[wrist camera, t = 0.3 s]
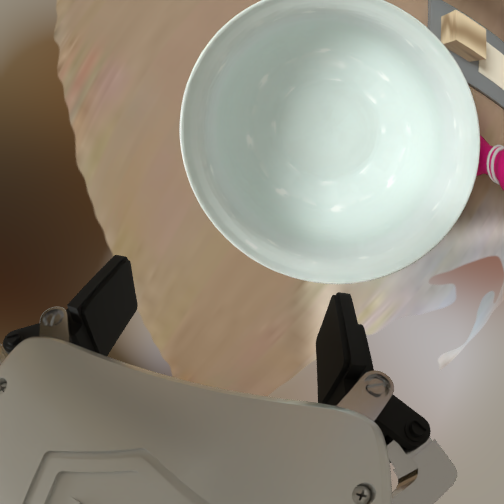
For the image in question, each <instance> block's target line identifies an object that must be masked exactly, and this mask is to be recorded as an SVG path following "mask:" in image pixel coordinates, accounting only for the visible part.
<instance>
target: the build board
mask: <svg viewBox="0 0 504 504" xmlns="http://www.w3.org/2000/svg"><path fill="white" fill-rule="evenodd" d="M454 10H458V9H456V8H454V7H453V6H451V5H449V4H448V3H446V2H444V1H442V0H428V29H429V30H430V31H431V32H432V33H433V34H434V35H435V36H436V37H437V38H438V39H439V40H440V41H441V17H442V16H444V15H446V14H448V13H450V12H452V11H454ZM458 11H459V10H458ZM459 12H461V11H459ZM461 13H462V14H464V13H463V12H461ZM464 15H466V14H464ZM466 16H467V15H466ZM467 17H469V16H467ZM469 18H470V17H469ZM470 19H472V18H470ZM472 20H473V19H472ZM473 21H475V20H473ZM475 22H476V21H475ZM476 23H478V22H476ZM478 24H479V23H478ZM479 25H480V26H482V25H481V24H479ZM482 27H483V26H482ZM483 28H485V27H483ZM485 29H486V28H485ZM448 51H449V52H450V53H451V55H452V56H453V58H454V59H455V61H456V62H457V64H458V65H459V67H460V69H461V71H462V73H463V75H464V77H465V79H466V81H467V83H468V85H470V86H471V87H473V88H474V89H476V90H478V91H479V92H481V93H482V94H484V95H485V96H486V97H488V98H489V99H491V100H492V101H494V102H495V103H496V104H498V105H499V106H500V107H502V108H503V109H504V42H503V41H502V40H500V39H499V38H498V37H497V36H495V35H494V34H493V33H491V32H490V31H489V30H487V29H486V60H478V61H471V62H469V61H467V60H465V59H464V58H462V57H461V56H459V55H457V54H456V53H454V52H452V51H450V50H449V49H448Z"/></svg>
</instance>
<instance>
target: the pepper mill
mask: <svg viewBox="0 0 504 504" xmlns="http://www.w3.org/2000/svg"><path fill="white" fill-rule="evenodd" d="M481 174H487V175H489V177H490V179H491V180H492V181H493V182H495V183H497V184H498V185H500V186H501V187H502V189H503V190H504V146H502V145H495V146H494V147H492V146H490V145H489V144H488V143H487V142H486V141H485V139H484V138H483V137H482V136H481V135H480V156H479V164H478V170H477V175H476V176H478V175H481Z"/></svg>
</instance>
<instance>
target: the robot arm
mask: <svg viewBox="0 0 504 504" xmlns="http://www.w3.org/2000/svg"><path fill="white" fill-rule="evenodd" d="M136 310H137V299H136V294H135V288H134V282H133V276H132V269H131V263H130V261H129V260H128V259H127V257H124V256H119V255H115V256H114V257H113V258H112V259H110V261H108V262H107V264H106V265H105V266H104V267H103V268H102V269H101V270H100V271H99V272H98V273H97V274H96V275H95V276H94V277H93V278H92V279H91V280H90V281H89V282H88V283H87V284H86V285H85V286H84V287H83V288H82V290H81V291H80V292H79V293H78V294H77V295H76V296H75V297H74V298H73V299H72V300H71V302H70V303H69V304H68V309H67V310H65V309H63V308H62V307H53V308H50V309H48V310H46V311H45V312H44V313H43V314H42V316H41V318H40V323H39V324H35V325H31V326H28V327H25V328H21V329H18V330H14V331H12V332H10V333H9V334H8V335H7V336H6V337H5V339H4V341H3V345H1V344H0V504H434V503H435V502H436V501H437V500H438V499H439V498H440V497H441V496H442V495H443V494H444V493H445V492H446V491H447V490H448V489H449V488H450V487H451V486H452V485H453V484H454V482H455V481H456V478H457V470H456V468H455V466H454V465H453V463H452V462H451V460H450V459H449V458H448V456H447V455H446V454H445V452H444V451H443V450H442V448H441V447H440V445H439V444H438V443H437V441H436V440H435V439H434V440H433V441H432V440H431V438H430V437H429V436H430V426H429V424H428V422H427V421H426V420H425V419H424V418H423V417H421V416H420V415H419V414H418V413H416V412H415V411H414V410H412V409H411V408H410V407H408V406H407V405H406V404H405V403H403V402H402V401H401V400H399V399H398V398H397V397H395V396H394V395H393V392H394V385H393V382H392V380H391V379H390V377H388V376H387V375H386V374H384V373H382V372H380V371H374V369H373V364H372V360H371V355H370V351H369V347H368V342H367V338H366V334H365V330H364V327H363V325H361V324H358V322H357V318H356V314H355V310H354V306H353V302H352V298H351V295H350V294H347V293H339V292H338V293H337V294H336V295H332V297H331V300H330V303H329V306H328V309H327V312H326V314H325V317H324V320H323V323H322V325H321V328H320V331H319V333H318V336H317V339H316V356H317V381H318V403H314V402H307V401H297V400H289V399H281V398H274V397H268V396H261V395H254V394H248V393H242V392H236V391H231V390H226V389H221V388H216V387H211V386H207V385H202V384H198V383H193V382H189V381H185V380H181V379H177V378H174V377H170V376H166V375H163V374H159V373H156V372H152V371H149V370H146V369H142V368H139V367H136V366H132V365H130V364H126V363H123V362H121V361H118V360H115V359H112V358H109V357H107V356H108V354H109V352H110V351H111V349H112V347H113V346H114V344H115V343H116V341H117V339H118V338H119V336H120V335H121V333H122V332H123V330H124V329H125V327H126V325H127V324H128V322H129V321H130V319H131V318H132V316H133V315H134V313H135V312H136ZM390 463H392V465H393V466H394V467H395V469H394V472H395V473H396V475H397V477H398V485H397V487H396V489H395V490H394V491H393V492H392V488H391V487H392V486H391V471H390ZM356 486H357V487H356Z"/></svg>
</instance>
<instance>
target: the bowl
mask: <svg viewBox="0 0 504 504" xmlns="http://www.w3.org/2000/svg"><path fill="white" fill-rule="evenodd" d="M180 144H181V152H182V157H183V162H184V166H185V170H186V173H187V176H188V179H189V182H190V185H191V187H192V189H193V192H194V194H195V196H196V198H197V200H198V202H199V204H200V205H201V207H202V209H203V210H204V212H205V213H206V215H207V216H208V218H209V219H210V220H211V222H212V223H213V224H214V226H215V227H216V228H217V229H218V230H219V231H220V232H221V233H222V234H223V236H224V237H225V238H227V239H228V240H229V241H230V242H231V243H232V244H233V245H234V246H235V247H237V248H238V249H239V250H240V251H242V252H243V253H244V254H246V255H247V256H248V257H250V258H251V259H253V260H255V261H256V262H258V263H260V264H261V265H263V266H265V267H267V268H269V269H271V270H273V271H276V272H279V273H281V274H284V275H287V276H290V277H293V278H296V279H301V280H305V281H310V282H316V283H325V284H352V283H359V282H365V281H371V280H374V279H378V278H381V277H384V276H387V275H390V274H392V273H395V272H397V271H399V270H401V269H403V268H405V267H407V266H409V265H410V264H412V263H414V262H416V261H417V260H419V259H420V258H422V257H423V256H424V255H425V254H427V253H428V252H429V251H430V250H432V249H433V248H434V247H435V246H436V245H437V244H438V243H439V242H440V241H441V240H442V239H443V238H444V237H445V236H446V235H447V234H448V232H449V231H450V230H451V229H452V227H453V226H454V224H455V223H456V222H457V220H458V218H459V217H460V215H461V213H462V211H463V210H464V208H465V206H466V204H467V202H468V199H469V197H470V194H471V192H472V189H473V186H474V182H475V179H476V175H477V170H478V164H479V156H480V130H479V122H478V115H477V111H476V106H475V102H474V99H473V96H472V93H471V90H470V88H469V86H468V83H467V81H466V79H465V77H464V75H463V73H462V71H461V69H460V67H459V65H458V64H457V62H456V61H455V59H454V58H453V56H452V55H451V53H450V52H449V51H448V49H447V48H446V47H445V46H444V44H443V43H442V42H441V41H440V40H439V39H438V38H437V37H436V36H435V35H434V34H433V33H432V32H431V31H430V30H429V29H428V28H427V27H426V26H425V25H423V24H422V23H421V22H420V21H418V20H417V19H416V18H414V17H413V16H412V15H410V14H409V13H407V12H405V11H404V10H402V9H400V8H399V7H397V6H395V5H393V4H391V3H389V2H387V1H384V0H261V1H259V2H257V3H255V4H254V5H252V6H250V7H248V8H247V9H245V10H243V11H242V12H240V13H239V14H237V15H236V16H235V17H233V18H232V19H231V20H230V21H229V22H227V23H226V24H225V25H224V26H223V27H222V28H221V29H220V30H219V31H218V32H217V33H216V34H215V35H214V37H213V38H212V39H211V40H210V42H209V43H208V44H207V46H206V47H205V48H204V50H203V51H202V53H201V55H200V56H199V58H198V60H197V62H196V64H195V66H194V67H193V70H192V72H191V75H190V77H189V80H188V82H187V85H186V89H185V92H184V96H183V101H182V106H181V114H180Z"/></svg>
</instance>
